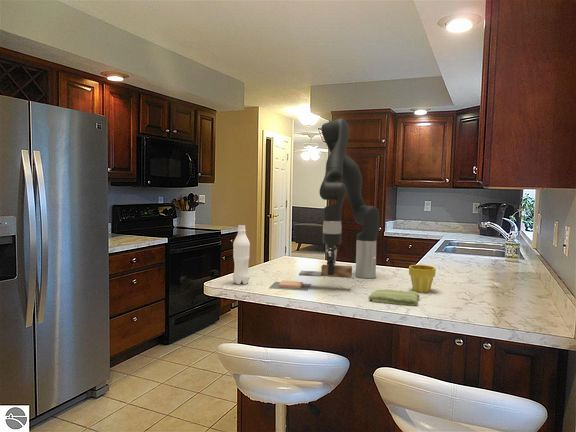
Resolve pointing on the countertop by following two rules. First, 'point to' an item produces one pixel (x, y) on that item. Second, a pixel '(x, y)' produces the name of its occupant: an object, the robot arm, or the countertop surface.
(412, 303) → the washcloth
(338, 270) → the board
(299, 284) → the tile
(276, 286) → the slate mat
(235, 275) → the water bottle
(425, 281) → the plant pot
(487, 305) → the countertop surface
